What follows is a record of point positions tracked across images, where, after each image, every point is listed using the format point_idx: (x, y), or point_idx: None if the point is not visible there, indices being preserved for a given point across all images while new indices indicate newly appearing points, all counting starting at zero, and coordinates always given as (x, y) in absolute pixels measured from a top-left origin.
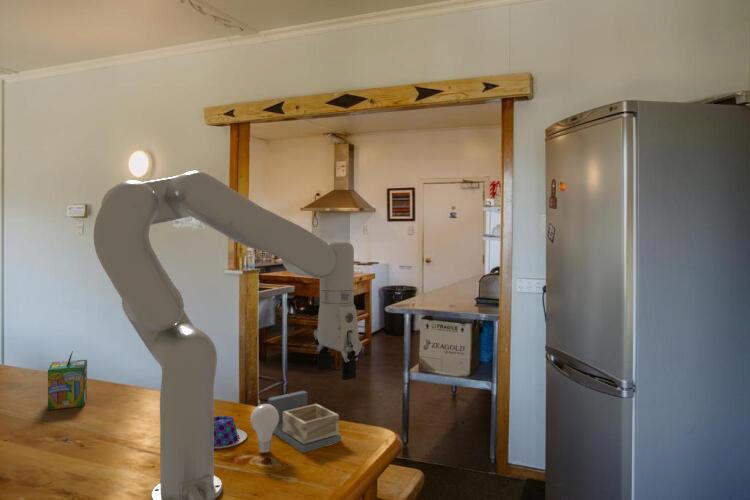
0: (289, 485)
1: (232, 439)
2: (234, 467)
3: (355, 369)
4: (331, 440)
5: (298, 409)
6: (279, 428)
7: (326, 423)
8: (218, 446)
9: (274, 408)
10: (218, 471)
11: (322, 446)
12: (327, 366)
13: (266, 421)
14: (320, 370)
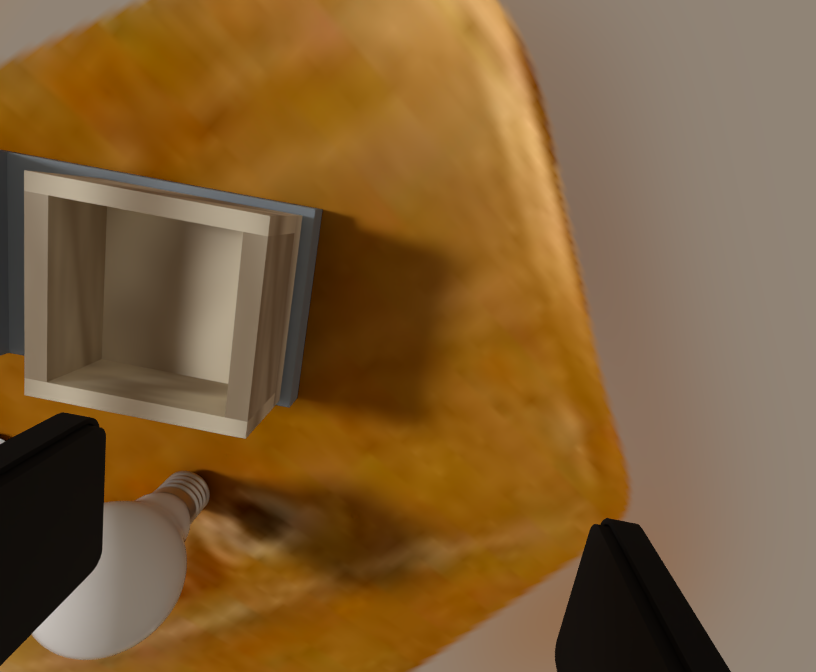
0: (458, 583)
1: None
2: (225, 611)
3: (678, 595)
4: (310, 264)
5: (48, 315)
6: None
7: (270, 296)
8: None
9: (108, 588)
10: (216, 653)
11: (307, 309)
12: (83, 484)
13: (166, 616)
14: (97, 548)
